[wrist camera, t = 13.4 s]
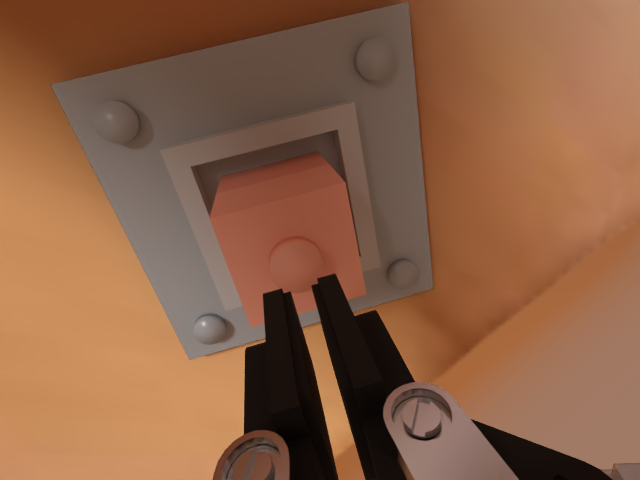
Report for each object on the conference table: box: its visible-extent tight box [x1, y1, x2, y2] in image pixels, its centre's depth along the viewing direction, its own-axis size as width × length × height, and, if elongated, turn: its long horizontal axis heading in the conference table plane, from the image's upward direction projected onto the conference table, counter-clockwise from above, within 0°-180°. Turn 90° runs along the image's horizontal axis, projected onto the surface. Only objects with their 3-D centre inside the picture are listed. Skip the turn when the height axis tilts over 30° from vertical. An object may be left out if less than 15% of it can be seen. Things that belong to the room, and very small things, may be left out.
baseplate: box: [50, 2, 433, 360], centre depth 19 cm, size 16×16×2 cm
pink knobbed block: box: [209, 151, 367, 328], centre depth 16 cm, size 5×5×7 cm
